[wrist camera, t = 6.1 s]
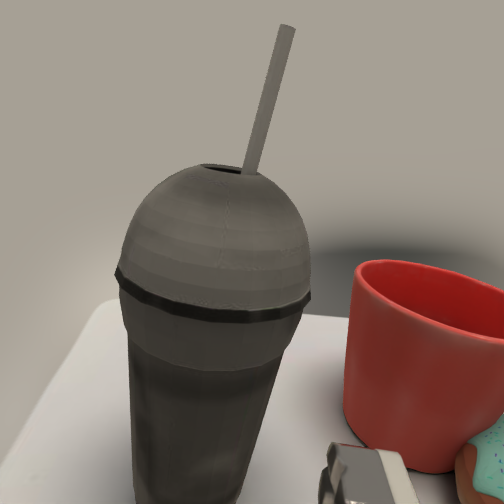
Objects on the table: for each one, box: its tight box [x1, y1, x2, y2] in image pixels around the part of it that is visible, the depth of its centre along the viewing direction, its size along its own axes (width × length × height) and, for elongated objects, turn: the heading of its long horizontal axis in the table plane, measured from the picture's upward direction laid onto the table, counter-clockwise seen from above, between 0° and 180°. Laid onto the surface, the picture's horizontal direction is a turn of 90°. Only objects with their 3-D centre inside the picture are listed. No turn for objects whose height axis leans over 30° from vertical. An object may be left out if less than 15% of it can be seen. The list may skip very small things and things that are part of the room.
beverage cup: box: [114, 24, 311, 504], centre depth 15 cm, size 7×7×20 cm
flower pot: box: [343, 260, 504, 473], centre depth 24 cm, size 11×11×10 cm
